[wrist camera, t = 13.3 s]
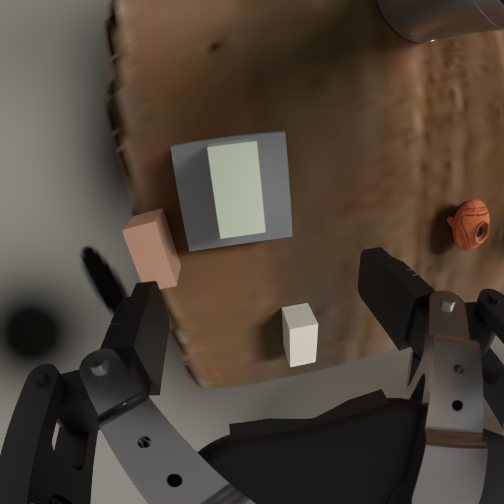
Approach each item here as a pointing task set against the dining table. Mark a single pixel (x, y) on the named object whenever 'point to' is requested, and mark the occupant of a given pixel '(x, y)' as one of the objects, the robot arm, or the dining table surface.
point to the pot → (470, 224)
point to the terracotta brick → (153, 248)
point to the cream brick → (299, 334)
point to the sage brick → (237, 187)
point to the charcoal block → (202, 197)
